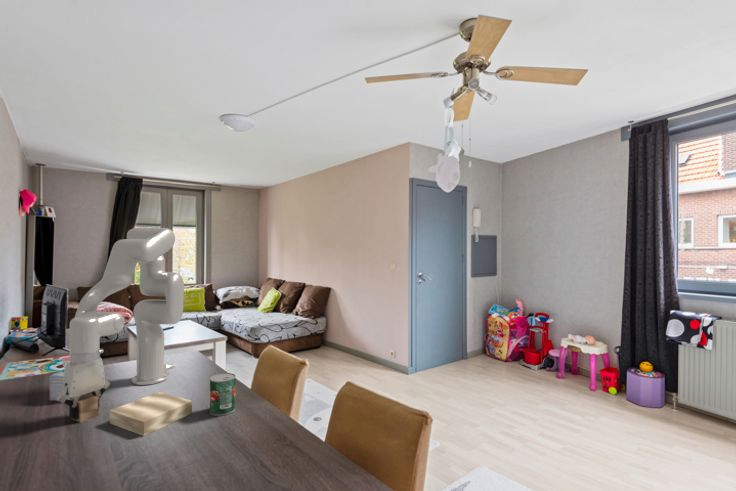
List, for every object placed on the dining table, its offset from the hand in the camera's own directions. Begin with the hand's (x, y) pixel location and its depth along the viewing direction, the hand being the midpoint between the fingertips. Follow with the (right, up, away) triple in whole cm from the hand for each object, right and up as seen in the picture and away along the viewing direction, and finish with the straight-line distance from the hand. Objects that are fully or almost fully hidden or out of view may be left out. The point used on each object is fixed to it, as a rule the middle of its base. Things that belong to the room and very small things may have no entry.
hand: (84, 414), depth 119 cm
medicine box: (-17, -1, +14) cm, 22 cm away
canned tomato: (+41, -2, +6) cm, 41 cm away
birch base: (+21, -1, 0) cm, 21 cm away
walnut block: (0, -1, 0) cm, 1 cm away
